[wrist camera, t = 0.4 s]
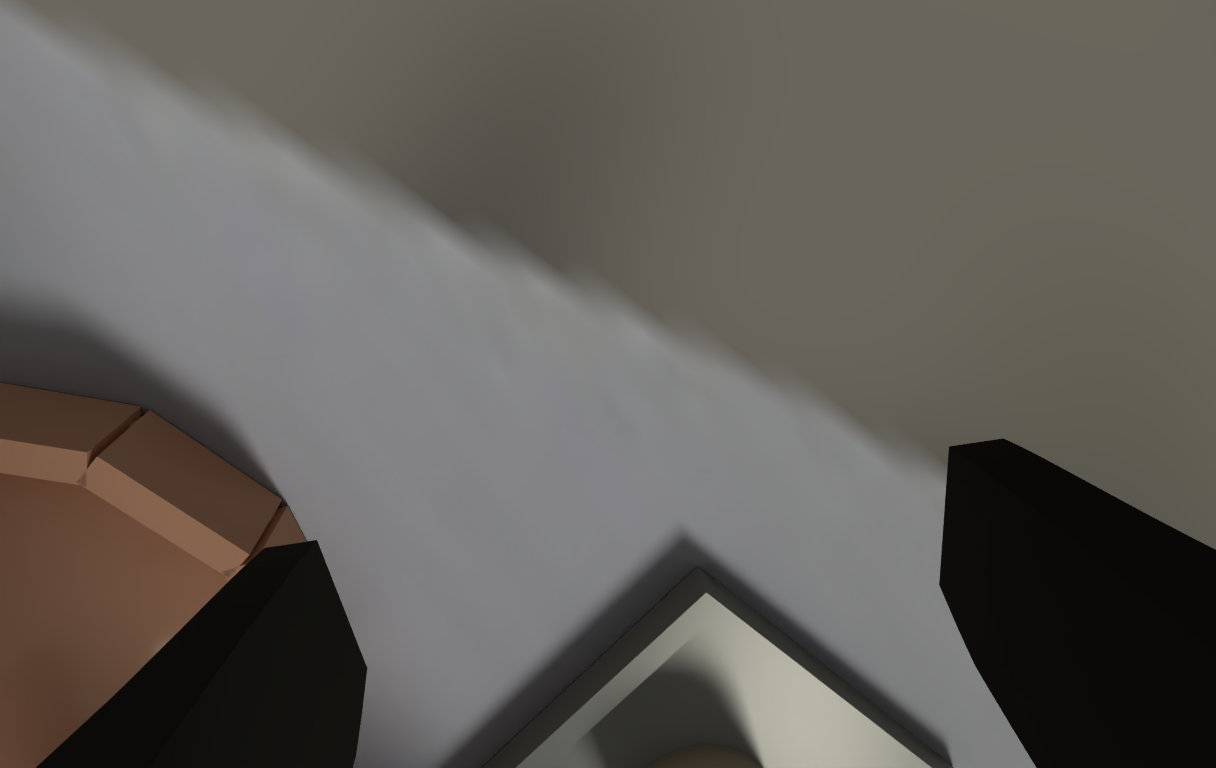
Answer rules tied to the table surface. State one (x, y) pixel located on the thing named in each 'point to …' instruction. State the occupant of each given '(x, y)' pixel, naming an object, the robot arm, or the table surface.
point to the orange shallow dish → (106, 553)
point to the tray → (711, 698)
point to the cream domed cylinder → (705, 758)
